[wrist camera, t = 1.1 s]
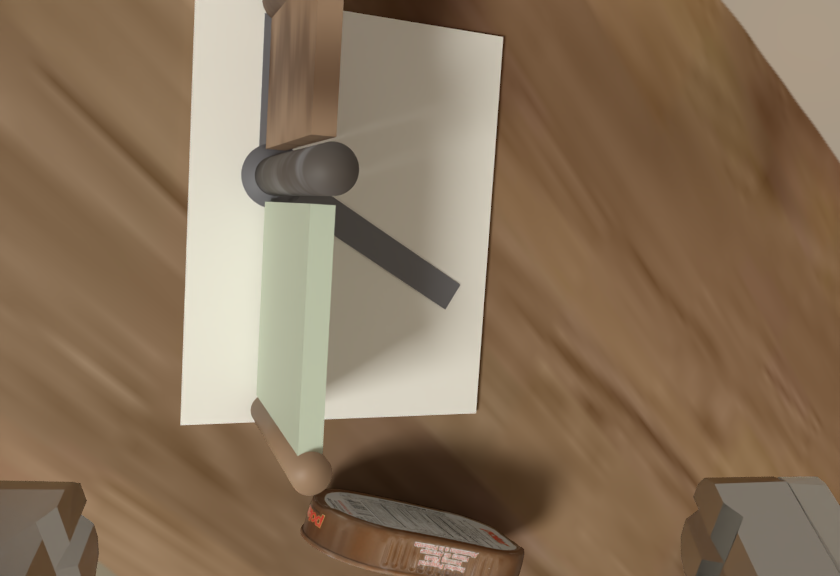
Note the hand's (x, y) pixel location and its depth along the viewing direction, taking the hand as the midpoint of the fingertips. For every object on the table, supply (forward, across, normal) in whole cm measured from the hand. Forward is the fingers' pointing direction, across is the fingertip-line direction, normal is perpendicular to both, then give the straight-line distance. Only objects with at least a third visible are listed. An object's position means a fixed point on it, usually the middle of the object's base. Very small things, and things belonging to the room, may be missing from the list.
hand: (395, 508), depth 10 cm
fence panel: (+32, +7, +20) cm, 38 cm away
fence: (+39, +7, +8) cm, 40 cm away
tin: (+29, -1, +34) cm, 45 cm away
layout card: (+37, +2, +16) cm, 40 cm away
